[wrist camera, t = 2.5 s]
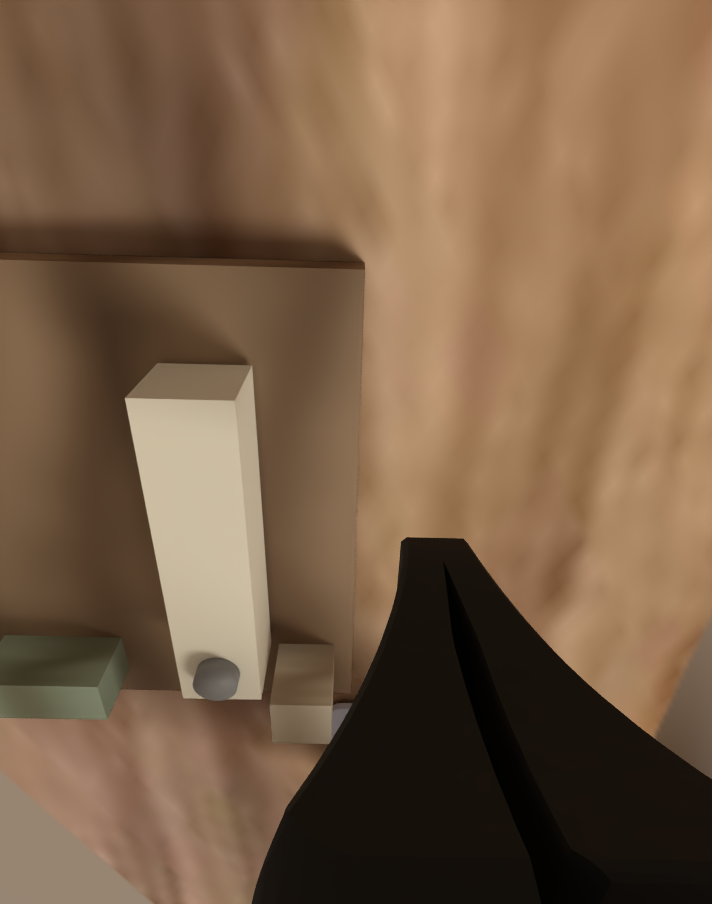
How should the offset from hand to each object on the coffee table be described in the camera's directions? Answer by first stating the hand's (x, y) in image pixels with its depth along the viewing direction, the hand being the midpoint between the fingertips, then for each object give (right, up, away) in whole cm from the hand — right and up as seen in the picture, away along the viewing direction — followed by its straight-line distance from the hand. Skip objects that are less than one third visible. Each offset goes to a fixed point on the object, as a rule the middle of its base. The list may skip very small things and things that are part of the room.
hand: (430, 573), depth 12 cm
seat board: (-11, +1, +10) cm, 15 cm away
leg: (-7, 0, +8) cm, 11 cm away
